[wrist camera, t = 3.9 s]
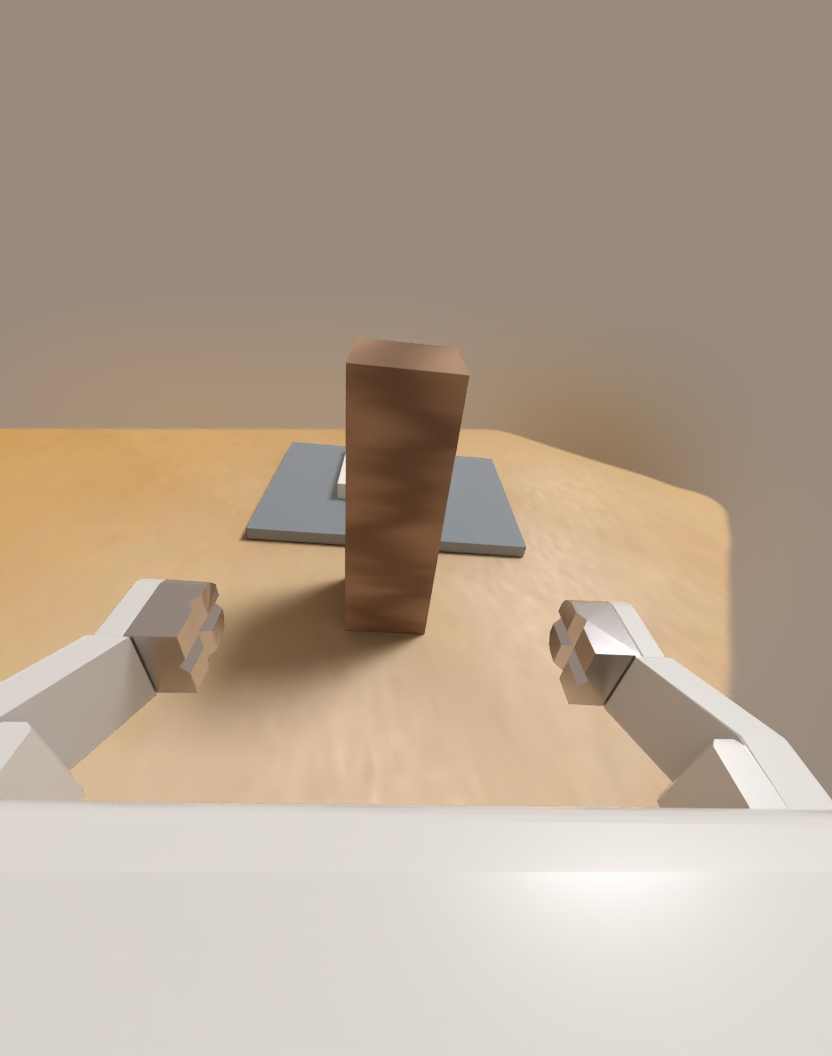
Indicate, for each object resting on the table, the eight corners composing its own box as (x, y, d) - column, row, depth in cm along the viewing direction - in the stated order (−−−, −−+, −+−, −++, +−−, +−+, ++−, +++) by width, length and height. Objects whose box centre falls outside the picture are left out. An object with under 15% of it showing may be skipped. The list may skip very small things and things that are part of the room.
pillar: (344, 630, 25) (346, 362, 16) (353, 575, 30) (357, 337, 20) (424, 633, 26) (469, 375, 17) (421, 580, 30) (456, 347, 21)
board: (247, 538, 32) (245, 528, 31) (293, 450, 45) (292, 442, 44) (523, 556, 33) (526, 547, 33) (489, 466, 46) (491, 459, 46)
